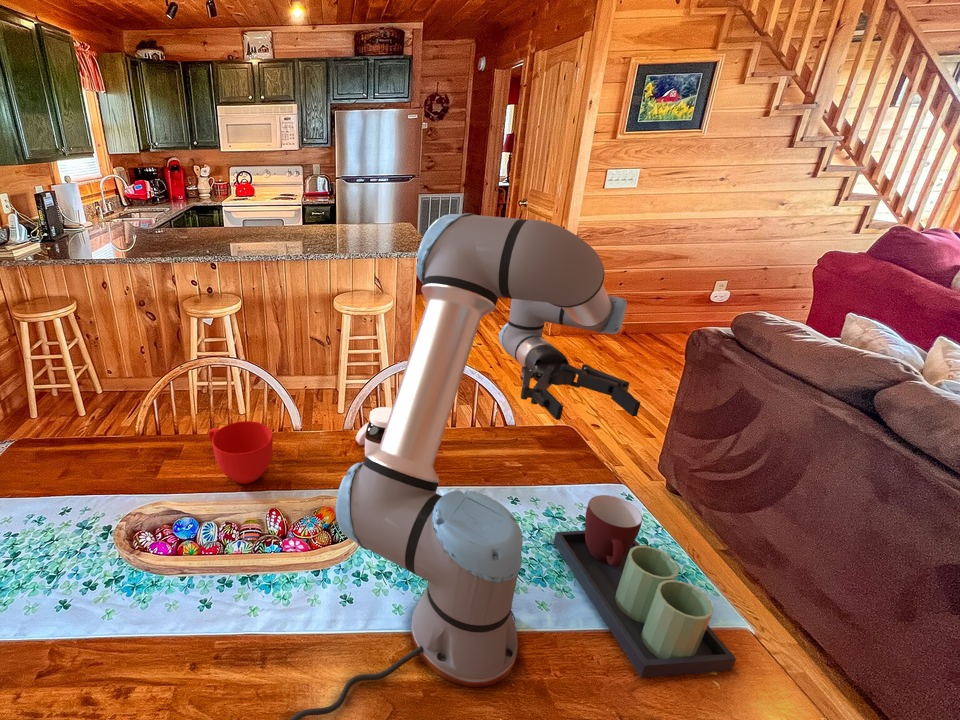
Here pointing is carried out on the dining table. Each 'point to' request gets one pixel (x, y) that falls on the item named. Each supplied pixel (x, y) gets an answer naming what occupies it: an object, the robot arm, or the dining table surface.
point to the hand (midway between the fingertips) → (598, 411)
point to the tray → (601, 591)
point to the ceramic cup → (242, 450)
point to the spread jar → (374, 429)
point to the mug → (611, 528)
